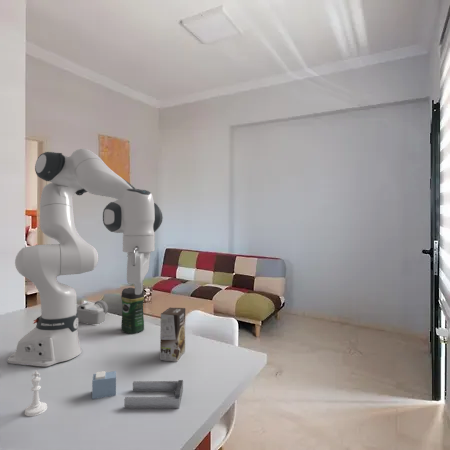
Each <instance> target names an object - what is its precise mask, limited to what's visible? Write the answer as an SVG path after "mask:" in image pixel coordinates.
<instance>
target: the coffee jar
mask: <svg viewBox="0 0 450 450" xmlns="http://www.w3.org/2000/svg"><path fill="white" fill-rule="evenodd" d="M120 296H121V303H122V304H121V305H122V307H121V309H122V310H121V323H120V324H121V327H120V329H121V332H123V333H126V334H128V335H129V334H131V335H133V334H139V333H142V332H143V331H144V330H145V318H144V300H145V291H144V290H143V291H142V293H141V294H140V295H136V294H135V287H127V288H126V287H125V288H123V289H122V290H121V295H120Z"/></svg>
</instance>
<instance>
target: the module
mask: <svg viewBox="0 0 450 450" xmlns="http://www.w3.org/2000/svg"><path fill="white" fill-rule="evenodd" d="M91 385H92V390H91V391H92V393H91V397H92V398H91V399H92V400H95V399H96V400H97V399H102V398H107V397H114V396H116V395H117V371H116V370H114V371H105V370H104V371H103V370H102V371H96V373H93V376H92V383H91Z"/></svg>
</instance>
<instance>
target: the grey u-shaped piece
mask: <svg viewBox="0 0 450 450" xmlns="http://www.w3.org/2000/svg"><path fill="white" fill-rule="evenodd" d="M132 392H133V393H135V392H141V393H143V392H144V393H145V392H149V393H150V392H152V393H153V392H160V393H161V392H174V396H125V397H124V400H123V403H124V405H123V406H124V407H123V408H124V409H125V410H127V409H134V410H135V409H138V410H139V409H180V405H181V401H182V396H183V392H184V381H183V379H178V380H173V381H172V380H166V381H165V380H163V381H162V380H161V381H159V380H157V381H155V380H154V381H153V380H150V381H149V380H148V381H147V380H145V381H144V380H143V381H140V380H139V381H135V380H134V381H133V382H132Z"/></svg>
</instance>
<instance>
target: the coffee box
mask: <svg viewBox="0 0 450 450" xmlns="http://www.w3.org/2000/svg"><path fill="white" fill-rule="evenodd" d="M159 337H160V338H159V339H160V340H159V341H160V347H159V348H160V349H159V357H160V358H159V359H160V361H166V362H175V363H176V362H178V361H179V359H180V358H181V357H182V356H183V354H185V352H186V308H185V307H168V308H167V309H166V310H164V311H163V312H161V313H160V336H159Z"/></svg>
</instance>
